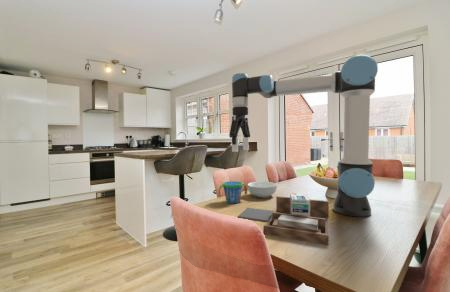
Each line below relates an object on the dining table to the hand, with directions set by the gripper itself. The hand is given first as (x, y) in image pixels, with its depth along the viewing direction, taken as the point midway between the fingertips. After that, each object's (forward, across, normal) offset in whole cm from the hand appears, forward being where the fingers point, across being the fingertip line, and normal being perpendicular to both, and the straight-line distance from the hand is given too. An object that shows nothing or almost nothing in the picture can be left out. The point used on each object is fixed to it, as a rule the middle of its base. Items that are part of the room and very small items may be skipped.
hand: (240, 150), depth 111 cm
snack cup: (+28, -7, -8) cm, 30 cm away
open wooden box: (+28, +14, +29) cm, 42 cm away
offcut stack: (+28, +20, +29) cm, 45 cm away
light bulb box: (+28, +9, +29) cm, 41 cm away
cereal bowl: (+28, -26, +2) cm, 38 cm away
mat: (+28, +7, +10) cm, 30 cm away
